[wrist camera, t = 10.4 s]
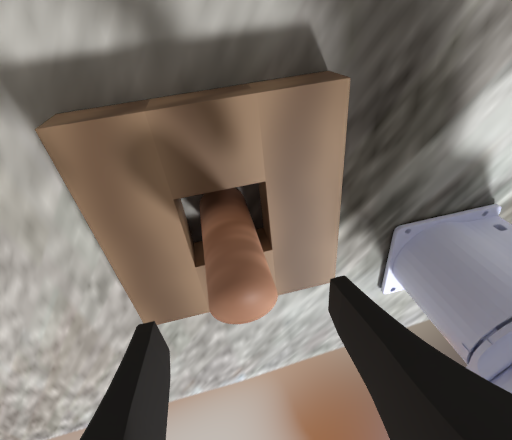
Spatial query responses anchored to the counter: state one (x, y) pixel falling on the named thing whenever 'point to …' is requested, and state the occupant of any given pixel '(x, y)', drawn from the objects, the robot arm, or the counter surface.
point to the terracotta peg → (234, 260)
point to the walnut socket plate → (208, 181)
